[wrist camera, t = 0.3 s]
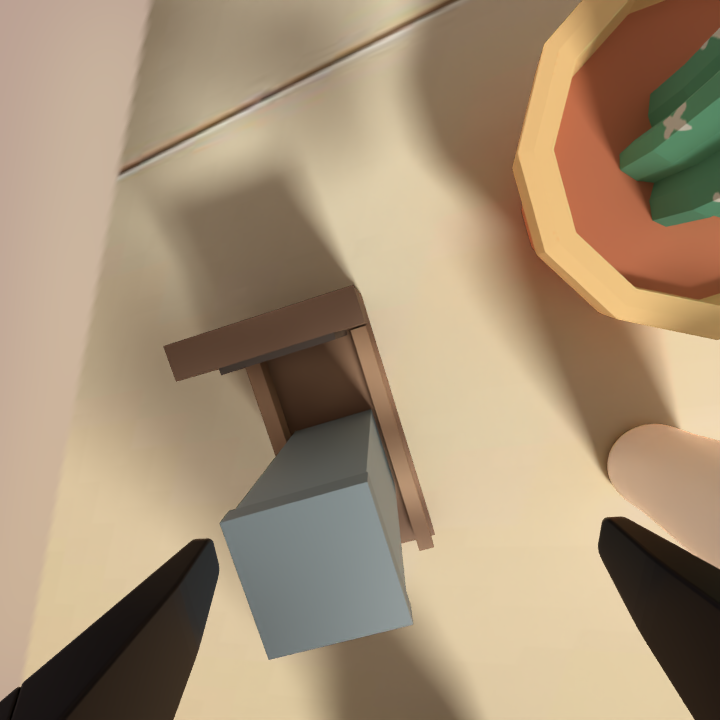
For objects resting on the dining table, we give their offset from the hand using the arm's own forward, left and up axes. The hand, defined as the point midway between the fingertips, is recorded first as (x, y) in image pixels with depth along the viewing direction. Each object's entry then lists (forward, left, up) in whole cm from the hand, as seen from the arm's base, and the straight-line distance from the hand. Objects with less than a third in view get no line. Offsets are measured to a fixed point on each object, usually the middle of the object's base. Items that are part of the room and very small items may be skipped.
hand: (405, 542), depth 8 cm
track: (-3, +2, -15) cm, 16 cm away
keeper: (-4, +1, -14) cm, 15 cm away
